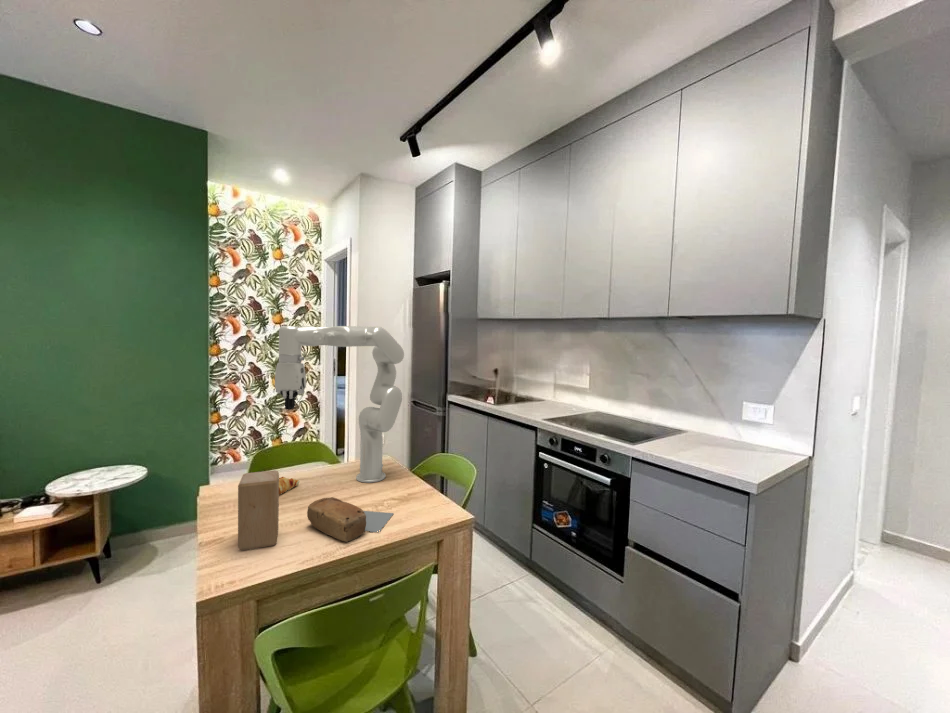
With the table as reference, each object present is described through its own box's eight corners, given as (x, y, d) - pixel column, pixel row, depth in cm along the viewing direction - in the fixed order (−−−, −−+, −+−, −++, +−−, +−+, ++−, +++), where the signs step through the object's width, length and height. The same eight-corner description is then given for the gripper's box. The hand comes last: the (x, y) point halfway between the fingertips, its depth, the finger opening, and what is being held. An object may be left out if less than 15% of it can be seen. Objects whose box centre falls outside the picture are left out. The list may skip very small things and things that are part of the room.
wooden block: (237, 552, 112) (237, 483, 111) (242, 536, 121) (242, 472, 121) (276, 546, 116) (277, 479, 115) (278, 530, 125) (279, 469, 125)
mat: (339, 509, 142) (339, 508, 142) (393, 514, 140) (393, 513, 140) (320, 527, 128) (320, 526, 128) (379, 533, 126) (379, 532, 126)
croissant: (294, 492, 166) (290, 473, 168) (307, 485, 161) (302, 466, 163) (241, 507, 149) (237, 486, 151) (253, 501, 143) (249, 479, 145)
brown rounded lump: (304, 525, 129) (344, 546, 118) (304, 502, 128) (344, 522, 117) (332, 512, 138) (372, 531, 127) (333, 492, 137) (372, 509, 126)
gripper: (314, 359, 148) (314, 408, 149) (277, 358, 150) (277, 406, 151) (303, 360, 141) (303, 411, 141) (264, 359, 143) (264, 409, 143)
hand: (289, 408), depth 146 cm, fingers closed
